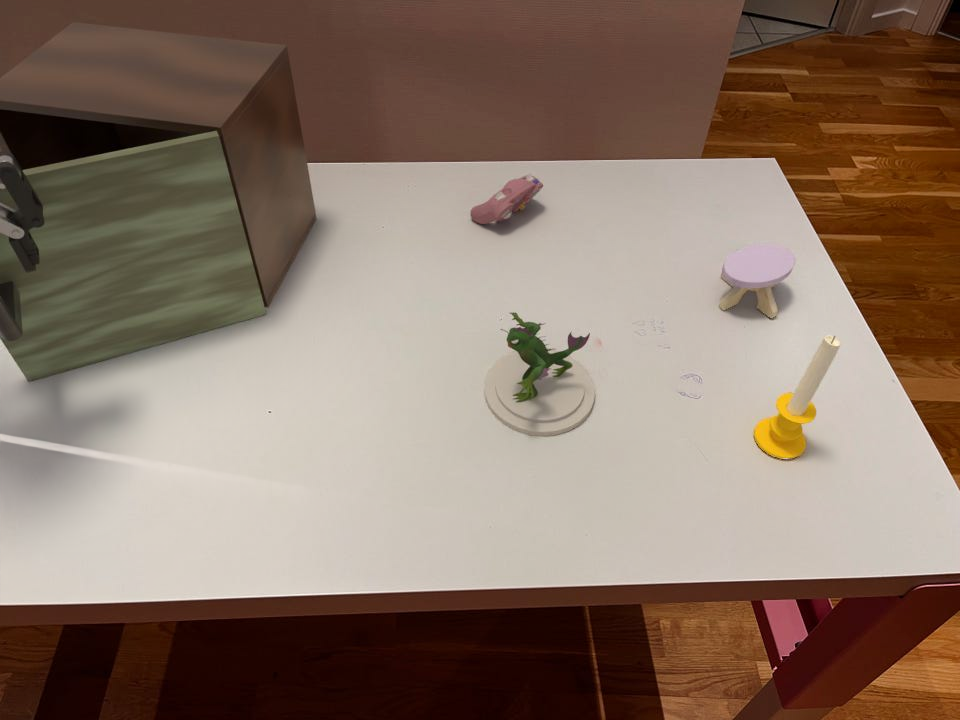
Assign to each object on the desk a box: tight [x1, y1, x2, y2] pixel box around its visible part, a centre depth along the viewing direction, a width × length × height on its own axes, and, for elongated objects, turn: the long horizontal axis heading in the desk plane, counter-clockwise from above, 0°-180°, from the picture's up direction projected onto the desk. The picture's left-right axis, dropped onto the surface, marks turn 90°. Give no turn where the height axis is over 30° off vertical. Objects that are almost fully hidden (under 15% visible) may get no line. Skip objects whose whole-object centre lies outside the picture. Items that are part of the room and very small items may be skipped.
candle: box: [753, 334, 841, 459], centre depth 72 cm, size 5×5×16 cm
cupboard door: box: [0, 131, 267, 382], centre depth 74 cm, size 8×26×24 cm, turn 115°
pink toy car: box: [469, 173, 544, 225], centre depth 100 cm, size 10×5×7 cm, turn 137°
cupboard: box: [0, 22, 318, 309], centre depth 87 cm, size 18×26×24 cm
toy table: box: [718, 243, 796, 319], centre depth 90 cm, size 10×9×6 cm
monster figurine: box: [483, 311, 596, 437], centre depth 77 cm, size 12×12×10 cm
